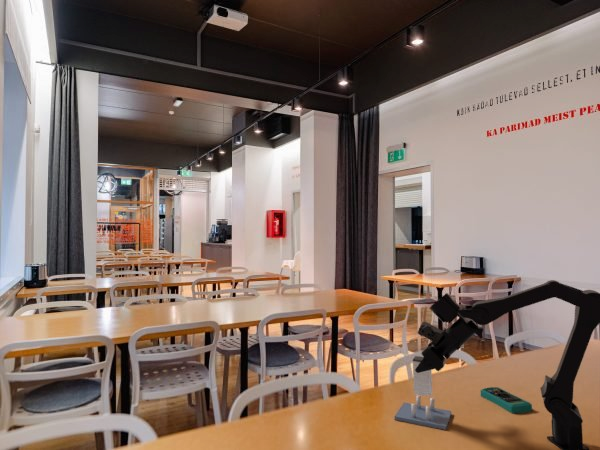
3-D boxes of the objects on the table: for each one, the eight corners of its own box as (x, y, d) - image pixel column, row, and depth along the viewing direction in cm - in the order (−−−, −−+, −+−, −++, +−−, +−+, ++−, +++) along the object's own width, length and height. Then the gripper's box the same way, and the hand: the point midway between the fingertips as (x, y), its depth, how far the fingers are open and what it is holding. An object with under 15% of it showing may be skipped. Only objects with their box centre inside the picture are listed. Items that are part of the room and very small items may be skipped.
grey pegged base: (451, 414, 117) (451, 398, 117) (445, 430, 107) (445, 413, 107) (403, 405, 123) (403, 390, 123) (394, 419, 114) (394, 403, 114)
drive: (432, 392, 116) (430, 357, 116) (429, 396, 113) (428, 361, 113) (416, 389, 118) (415, 356, 118) (413, 393, 115) (412, 359, 115)
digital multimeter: (497, 394, 132) (497, 385, 133) (533, 412, 118) (533, 402, 118) (478, 396, 131) (478, 387, 131) (512, 415, 116) (512, 405, 116)
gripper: (439, 308, 123) (405, 340, 128) (428, 319, 106) (389, 355, 111) (468, 336, 119) (431, 369, 123) (460, 352, 102) (418, 388, 107)
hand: (417, 369), depth 116 cm, fingers closed on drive, 3 cm apart
